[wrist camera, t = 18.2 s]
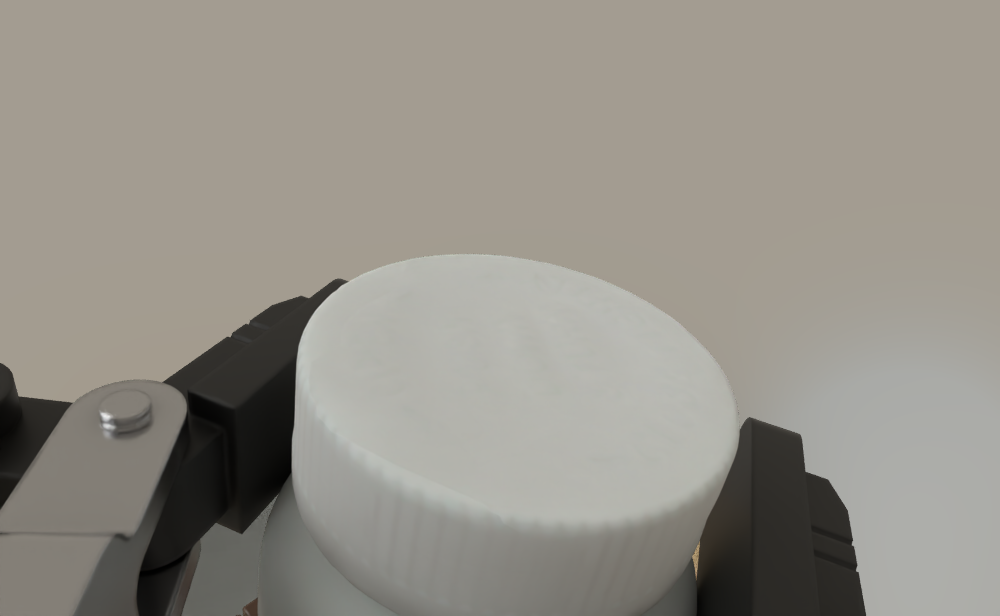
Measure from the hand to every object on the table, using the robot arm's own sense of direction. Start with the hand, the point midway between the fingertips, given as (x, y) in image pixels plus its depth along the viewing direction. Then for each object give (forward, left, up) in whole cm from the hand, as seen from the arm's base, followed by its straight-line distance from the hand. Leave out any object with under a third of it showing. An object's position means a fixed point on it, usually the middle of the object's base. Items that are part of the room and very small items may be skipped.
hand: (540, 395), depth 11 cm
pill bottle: (0, -2, -9) cm, 9 cm away
